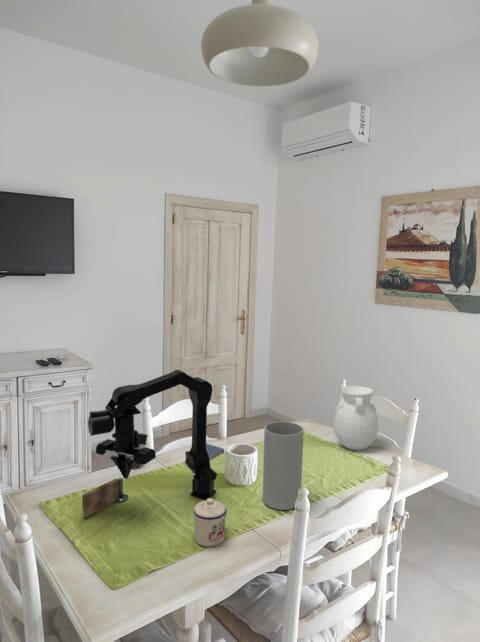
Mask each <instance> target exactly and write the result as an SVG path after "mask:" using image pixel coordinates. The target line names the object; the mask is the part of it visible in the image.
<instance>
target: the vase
mask: <svg viewBox="0 0 480 642" xmlns="http://www.w3.org/2000/svg"><path fill="white" fill-rule="evenodd" d="M135 449H138V450H140V449H142V448H141V447H140V446H139V447H137V448H135ZM141 465H142V464H138V463H135V462H134V463H133V465H132V468H131V469H137V468H139V467H140V466H141Z"/></svg>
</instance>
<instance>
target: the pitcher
mask: <svg viewBox="0 0 480 642" xmlns="http://www.w3.org/2000/svg"><path fill="white" fill-rule="evenodd" d="M340 393H341V396H342V399H341V401H340V402H339V403H338V404H337V406H336V407H335V413H334V417H333V418H334V419H333V432H334V434H335V436H336V438H337V439H338V441H339V443H341V444H342V445H343V446H344V447H345V448H346V449H347V450H352V451H364V450H367V448H368V447H369V446H371V445H372V444H373V442H374V441H375V439H376V437H377V435H378V429H379V421H378V414H377V408H376V407H375V405H374V404H373V403H371V402H370V401H371V400H372V398H373V395H374V390H373V389H372V388H369V387H366V386H362V385H361V386H360V385H345V386H342V387H341V388H340Z"/></svg>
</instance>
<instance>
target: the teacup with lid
mask: <svg viewBox="0 0 480 642" xmlns="http://www.w3.org/2000/svg"><path fill="white" fill-rule="evenodd" d="M227 513H228V508H227V507H226V506H225V505H224V504H223V503H222V502H220V501H217V500H214V499H213V498H211V497H210V498H208V499H205V500H203V501H200V502H198V503H197V504H196V505H195V506H194V508H193V514H194V518H193V520H194V523H193V524H194V525H193V528H194V529H193V531H194V532H193V533H194V534H193V538H194V541H195V542H196V543H197V544H198V545H200V546H202V547H215V546H216V547H217V546H218V545H220V544H222V543H223V542H224V540H225V537H226V533H225V532H226V531H225V530H226V517H227Z"/></svg>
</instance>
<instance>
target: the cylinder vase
mask: <svg viewBox="0 0 480 642" xmlns="http://www.w3.org/2000/svg"><path fill="white" fill-rule="evenodd" d="M304 430H305V429H304V428H303V426H302V425H300V424H298V423H295V422H294V423H293V422H291V421H290V422H289V421H274V422H269V423H267V424H265V425H264V432H263V433H264V434H263V435H264V437H263V438H264V439H263V466H262V467H263V468H262V469H263V471H262V472H263V474H262V501H263V503H264V504H265V505H266V506H268V508H271V509H274V510H278V511H290V510H293V509H295V502H296V499H297V497H298V490H299V489H300V488H301V489H302V478H303V477H302V475H303V451H304V450H303V449H304Z"/></svg>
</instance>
